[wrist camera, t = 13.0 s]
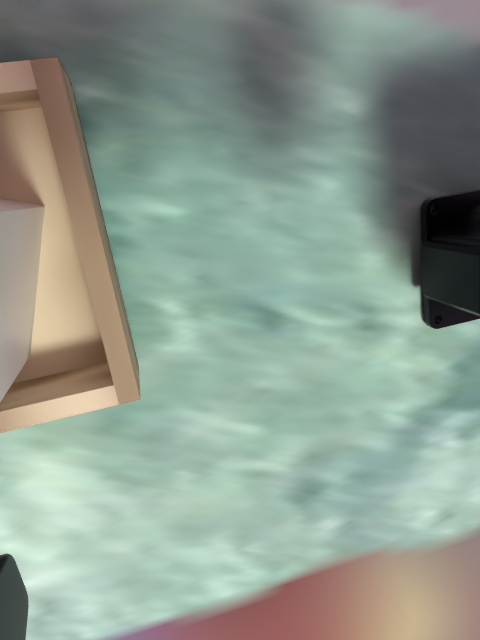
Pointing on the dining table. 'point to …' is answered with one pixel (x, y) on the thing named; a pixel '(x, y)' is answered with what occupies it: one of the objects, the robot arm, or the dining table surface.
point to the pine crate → (62, 256)
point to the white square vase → (17, 284)
